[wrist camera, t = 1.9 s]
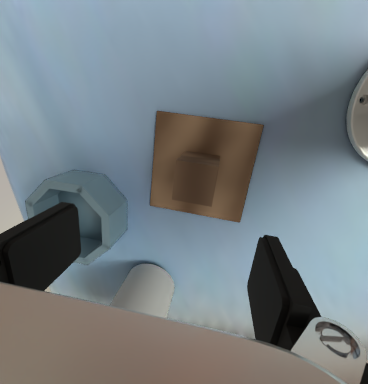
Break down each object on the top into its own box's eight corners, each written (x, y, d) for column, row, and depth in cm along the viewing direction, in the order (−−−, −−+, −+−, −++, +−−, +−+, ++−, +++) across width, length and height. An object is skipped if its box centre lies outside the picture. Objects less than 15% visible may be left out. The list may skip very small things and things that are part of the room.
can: (176, 263, 31) (151, 345, 20) (174, 302, 34) (151, 393, 22) (128, 256, 32) (78, 329, 21) (130, 294, 35) (86, 377, 24)
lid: (262, 124, 23) (277, 127, 17) (239, 219, 28) (244, 249, 21) (158, 111, 25) (137, 108, 19) (151, 203, 29) (132, 226, 23)
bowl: (127, 177, 28) (108, 189, 23) (127, 247, 32) (110, 270, 27) (52, 166, 29) (20, 175, 25) (60, 234, 33) (34, 254, 28)
